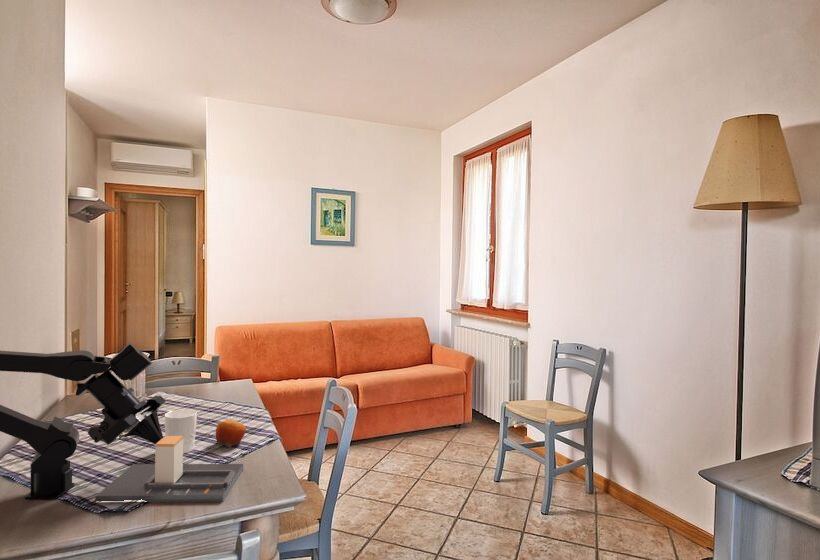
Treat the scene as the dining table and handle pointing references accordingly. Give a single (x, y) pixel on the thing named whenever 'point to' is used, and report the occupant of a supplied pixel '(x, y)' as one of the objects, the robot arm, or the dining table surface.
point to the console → (173, 484)
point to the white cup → (182, 426)
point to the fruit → (229, 433)
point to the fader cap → (169, 459)
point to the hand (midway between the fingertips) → (162, 444)
